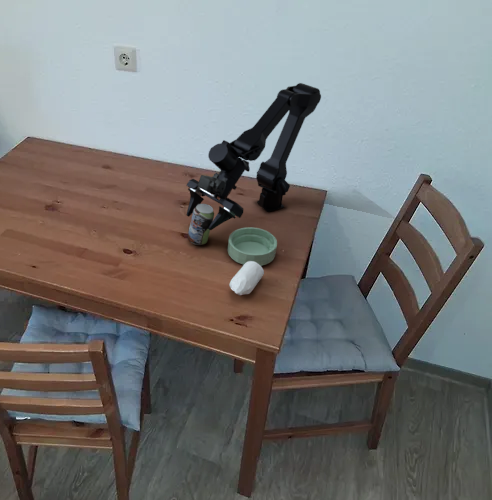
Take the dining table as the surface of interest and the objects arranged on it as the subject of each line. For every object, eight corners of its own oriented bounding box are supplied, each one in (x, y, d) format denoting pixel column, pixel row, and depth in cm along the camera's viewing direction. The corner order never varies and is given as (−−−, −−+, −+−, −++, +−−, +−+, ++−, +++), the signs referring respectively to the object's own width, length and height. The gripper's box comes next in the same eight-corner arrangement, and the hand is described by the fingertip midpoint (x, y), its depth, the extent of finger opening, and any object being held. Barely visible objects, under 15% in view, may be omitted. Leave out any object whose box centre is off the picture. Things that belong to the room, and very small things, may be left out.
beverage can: (185, 236, 162) (187, 202, 155) (209, 234, 163) (212, 200, 156) (189, 248, 157) (190, 213, 150) (213, 246, 158) (216, 212, 151)
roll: (223, 298, 140) (224, 282, 136) (242, 273, 148) (244, 257, 144) (244, 306, 137) (246, 290, 134) (263, 281, 145) (265, 264, 142)
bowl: (259, 235, 162) (260, 223, 159) (284, 261, 152) (286, 248, 149) (219, 245, 158) (220, 233, 156) (242, 272, 148) (243, 259, 145)
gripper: (192, 153, 154) (162, 199, 155) (240, 177, 142) (207, 227, 143) (210, 169, 163) (182, 212, 164) (257, 193, 151) (226, 240, 152)
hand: (198, 222), depth 155 cm, fingers open, 9 cm apart
